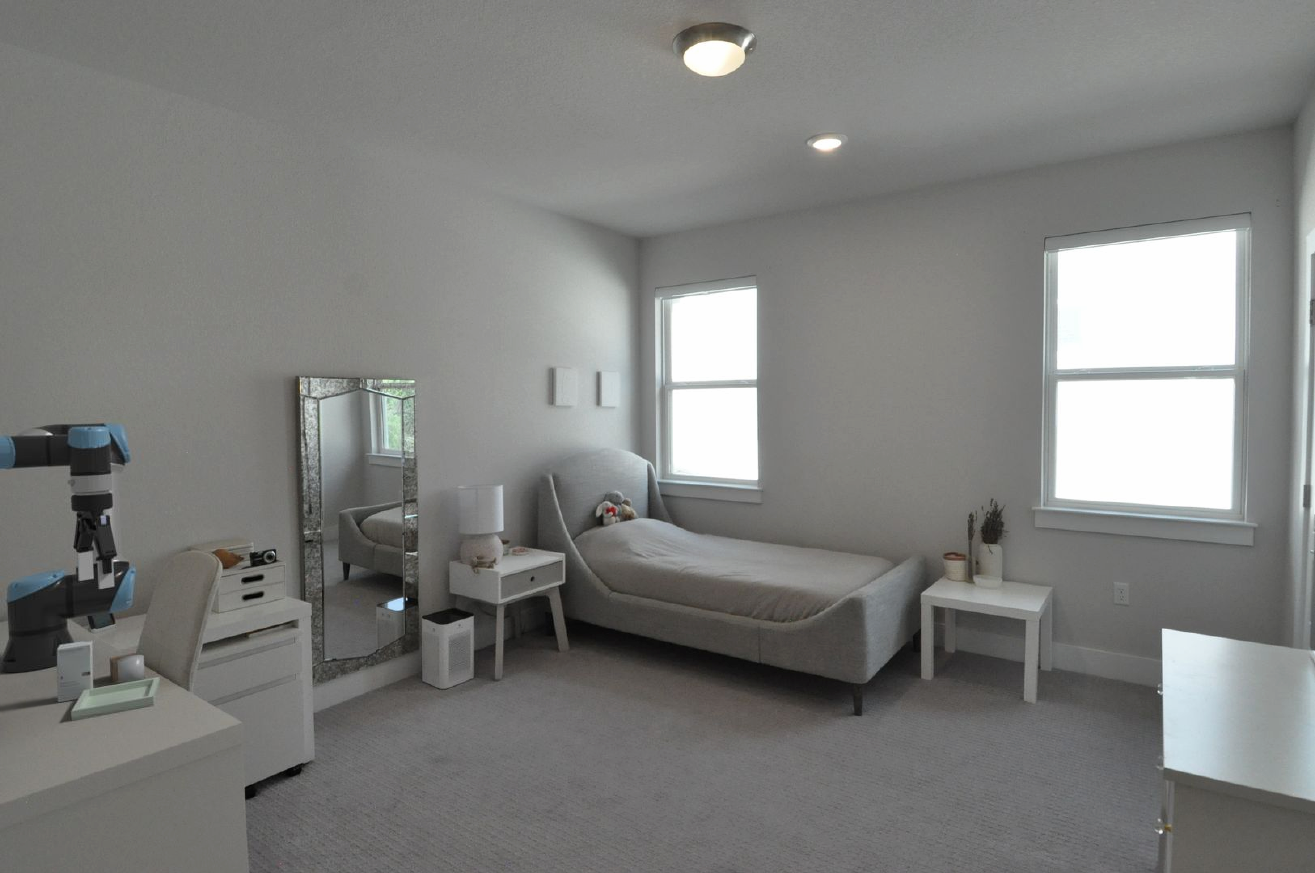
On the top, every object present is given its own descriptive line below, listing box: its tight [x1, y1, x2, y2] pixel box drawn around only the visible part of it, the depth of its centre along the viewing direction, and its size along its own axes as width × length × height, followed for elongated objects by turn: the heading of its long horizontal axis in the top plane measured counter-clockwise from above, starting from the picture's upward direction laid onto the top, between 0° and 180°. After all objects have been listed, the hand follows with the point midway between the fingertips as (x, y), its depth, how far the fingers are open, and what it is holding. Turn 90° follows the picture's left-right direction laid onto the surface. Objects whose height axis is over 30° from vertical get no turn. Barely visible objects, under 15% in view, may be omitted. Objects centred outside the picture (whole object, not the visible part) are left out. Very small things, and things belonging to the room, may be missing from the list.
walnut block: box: [109, 652, 137, 684], centre depth 172 cm, size 5×5×5 cm
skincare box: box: [56, 640, 94, 703], centre depth 160 cm, size 6×4×12 cm
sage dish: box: [70, 676, 161, 722], centre depth 156 cm, size 14×14×2 cm
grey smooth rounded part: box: [118, 654, 146, 684], centre depth 168 cm, size 5×5×6 cm
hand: (96, 583), depth 163 cm, fingers open, 13 cm apart
